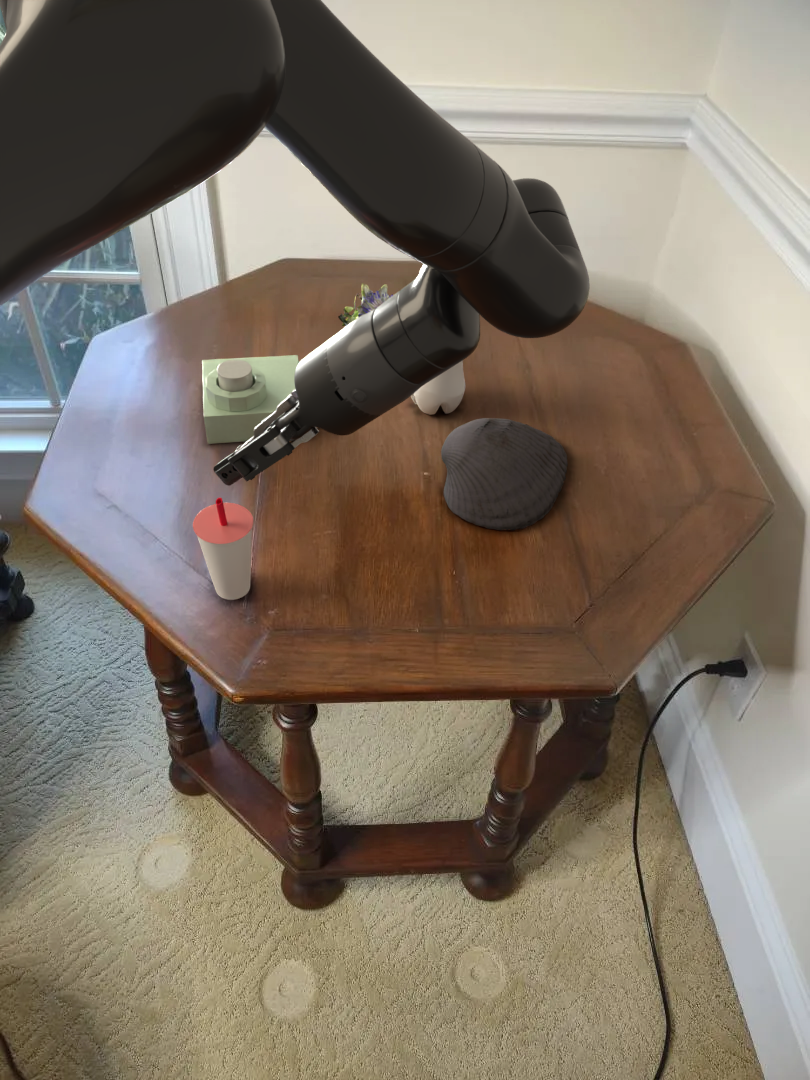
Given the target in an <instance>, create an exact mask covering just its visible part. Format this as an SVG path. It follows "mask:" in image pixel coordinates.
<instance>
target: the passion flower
mask: <svg viewBox="0 0 810 1080" xmlns="http://www.w3.org/2000/svg"><path fill="white" fill-rule="evenodd" d="M388 290H389V288H388V284H383V285H382V286H381V287H379V289H378V290H375V292H374V291H373V290H372V289H370V288H369V285H368V284H366V283H361V291H360V292H361V293H360V292H357V293H356V294H355V297H354V302H353V306H345V307H344V308H343V313H340V314H339V315H338V320H340V322H341V327H346V326H347V325H349V324H350V323H351V322H353V321H354V320H356V319H357V318H359V317H361V316H362V315H364V314H366V313H368V312H370V311H372V310H374V309H375V308H377V307H378V306H380V305H381V304H382V303H384V302H385V301H386V300H388V299H389V298H390V297H392V296H393V295H394V294H393V293H391V294H390V295H389V293H388V292H389V291H388ZM357 297H358V299H360V301H361V303H360V304H359V305H358V306H357V305H356V304H357ZM353 310H354V311H353ZM352 311H353V313H352V314H350V313H351V312H352Z"/></svg>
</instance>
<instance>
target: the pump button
mask: <svg viewBox="0 0 810 1080" xmlns="http://www.w3.org/2000/svg"><path fill="white" fill-rule="evenodd" d="M217 375H218V382H219V386H220V388H221V389H222V390H225V391H229V392H240V391H244V390H247V389H249V388H251V387H252V385H253V375H252V367H251V365H250V364H249V363H248V362H246V361H243V360H228V361H225V362H223V363H221V364H220V365H219V366H218V368H217Z"/></svg>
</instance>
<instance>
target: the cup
mask: <svg viewBox="0 0 810 1080" xmlns="http://www.w3.org/2000/svg"><path fill="white" fill-rule="evenodd" d="M253 526H254V516H253V514H252V513H251V512H250V510H249V509H247V508H246V507H245V506H243V505H242V504H238V503H234V502H224V501H223V498H222V497H217V498H216V500H215V503H214V504H211V505H208V506H206V507H205V508H203V509H201V510H200V511H199V512H198V513H197V514H196V515H195V517H194V519H193V522H192V530H193V531H194V534H195V535H196V537H197V540H198V543H199V546H200V549H201V551H202V555H203V558H204V562H205V564H206V567H207V570H208V573H209V575H210V579H211V582H212V584H213V587H214V591H215V592H216V594H217V595H218V596H219V597H220V598H221V599H223V600H227V601H235V600H238V599H240V598H243V597H245V596H246V595H247V594H248V593H249V591H250V589H251V576H252V546H253V545H252V543H253V542H252V539H253V538H252V537H253V535H252V533H253Z"/></svg>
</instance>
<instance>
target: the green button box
mask: <svg viewBox="0 0 810 1080" xmlns="http://www.w3.org/2000/svg"><path fill="white" fill-rule="evenodd" d="M228 360H243V361H246V362H248V363H249V364H250V365H251V367H252V375H253V385H252V387H251V388H249V389H247V390H244V391H240V392H229V391H225V390H222V389H221V388H220V386H219V382H218V375H217V368H218V366H219V365H220V364H221V363H223V362H225V361H228ZM299 362H300V360H299V355H298V354H293V355H291V354H289V355H273V356H252V357H251V356H250V357H235V358H234V357H233V358H216V359H215V358H213V359H202V360H201V364H202V365H201V366H202V368H201V369H202V404H203V405H202V406H203V408H202V409H203V410H202V411H203V423H204V428H205V429H204V430H205V434H206V442H207V445H211V444H212V445H213V444H225V443H226V444H227V443H239V442H241V443H242V442H247V441H248V440H249V439H250V438H252V437H253V436H254V428H255V427H256V426H257V425H259V423H260V422H261V421H262V420H264V419H265V418H266V417H268V416H269V415H271V414H272V413H273V412H275V411H276V409H277V406H278V405H279V404H280V403H281V402H282V401H284V400H285V399H286V397H287V396H289V395H290V394H291V392H292V391H294V390H295V383H294V375H295V370H296V367H297V365H298V363H299Z"/></svg>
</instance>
